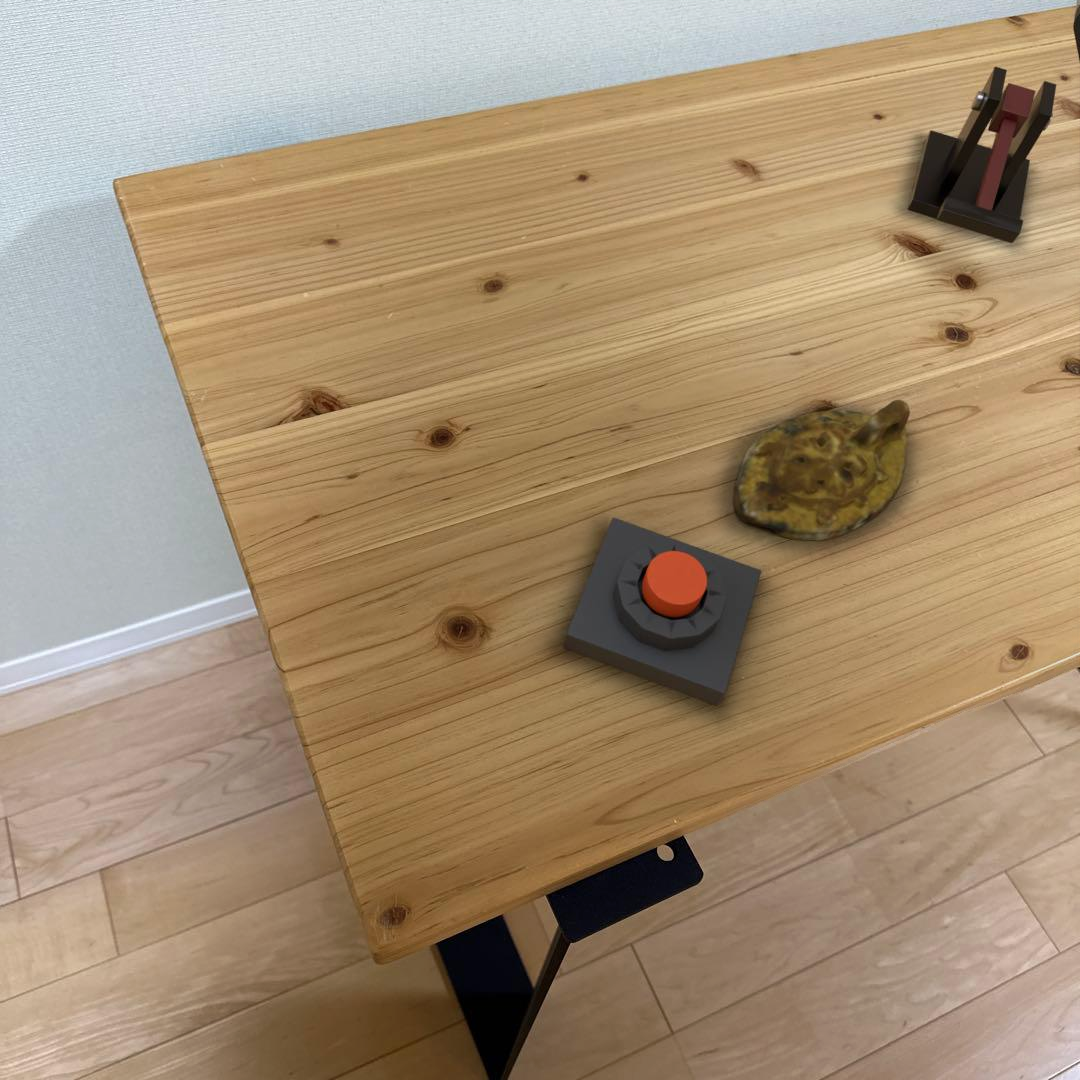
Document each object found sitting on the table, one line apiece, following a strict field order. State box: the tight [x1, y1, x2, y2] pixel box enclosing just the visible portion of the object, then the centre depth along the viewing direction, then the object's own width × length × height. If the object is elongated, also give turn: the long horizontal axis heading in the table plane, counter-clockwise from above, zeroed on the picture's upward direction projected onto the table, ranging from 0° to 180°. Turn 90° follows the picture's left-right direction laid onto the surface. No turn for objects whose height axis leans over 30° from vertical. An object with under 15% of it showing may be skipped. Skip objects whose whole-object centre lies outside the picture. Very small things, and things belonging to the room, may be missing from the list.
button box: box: [562, 517, 762, 707], centre depth 60 cm, size 10×9×4 cm
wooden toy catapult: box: [907, 66, 1057, 220], centre depth 81 cm, size 10×9×10 cm
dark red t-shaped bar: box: [936, 82, 1036, 244], centre depth 77 cm, size 13×6×2 cm, turn 160°
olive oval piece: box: [733, 398, 911, 541], centre depth 67 cm, size 9×5×15 cm
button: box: [642, 551, 707, 617], centre depth 58 cm, size 4×4×2 cm
